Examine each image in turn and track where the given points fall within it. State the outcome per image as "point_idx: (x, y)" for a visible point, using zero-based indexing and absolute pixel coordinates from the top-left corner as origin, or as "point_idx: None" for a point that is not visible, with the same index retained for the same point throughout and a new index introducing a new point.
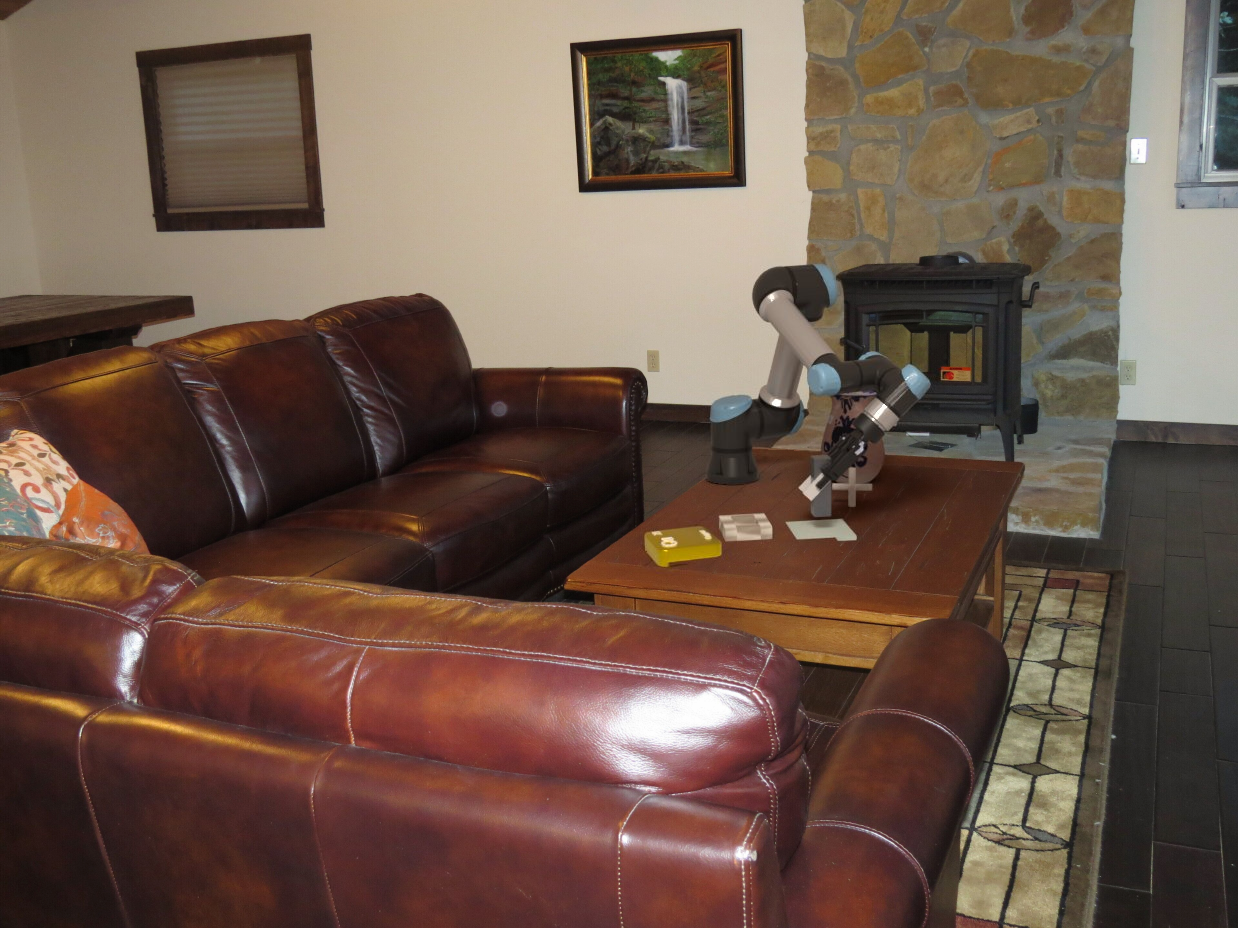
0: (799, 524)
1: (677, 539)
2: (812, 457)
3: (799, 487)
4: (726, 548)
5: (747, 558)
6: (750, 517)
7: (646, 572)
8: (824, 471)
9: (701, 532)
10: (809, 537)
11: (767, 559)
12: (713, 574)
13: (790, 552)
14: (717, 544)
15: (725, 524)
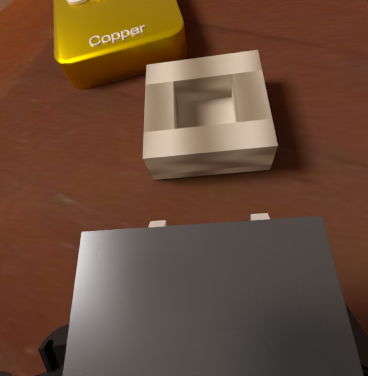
0: None
1: (102, 2)
2: (199, 226)
3: (258, 216)
4: (135, 95)
5: (65, 128)
6: (238, 113)
7: (53, 7)
8: (42, 349)
9: (132, 29)
10: None
11: (46, 162)
12: (7, 80)
13: (73, 212)
14: (56, 58)
15: (180, 64)
